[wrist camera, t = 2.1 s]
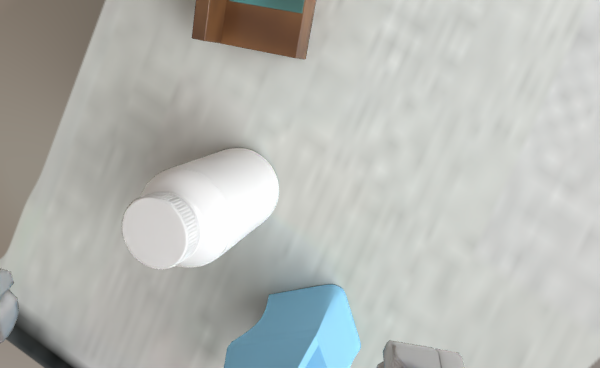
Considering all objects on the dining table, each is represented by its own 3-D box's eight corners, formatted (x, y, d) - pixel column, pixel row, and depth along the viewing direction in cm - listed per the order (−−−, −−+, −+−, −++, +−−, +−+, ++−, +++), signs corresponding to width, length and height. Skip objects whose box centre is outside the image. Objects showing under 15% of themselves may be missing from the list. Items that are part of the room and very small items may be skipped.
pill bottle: (205, 142, 46) (101, 171, 32) (282, 150, 44) (208, 185, 30) (205, 219, 48) (107, 279, 34) (279, 230, 45) (207, 299, 31)
